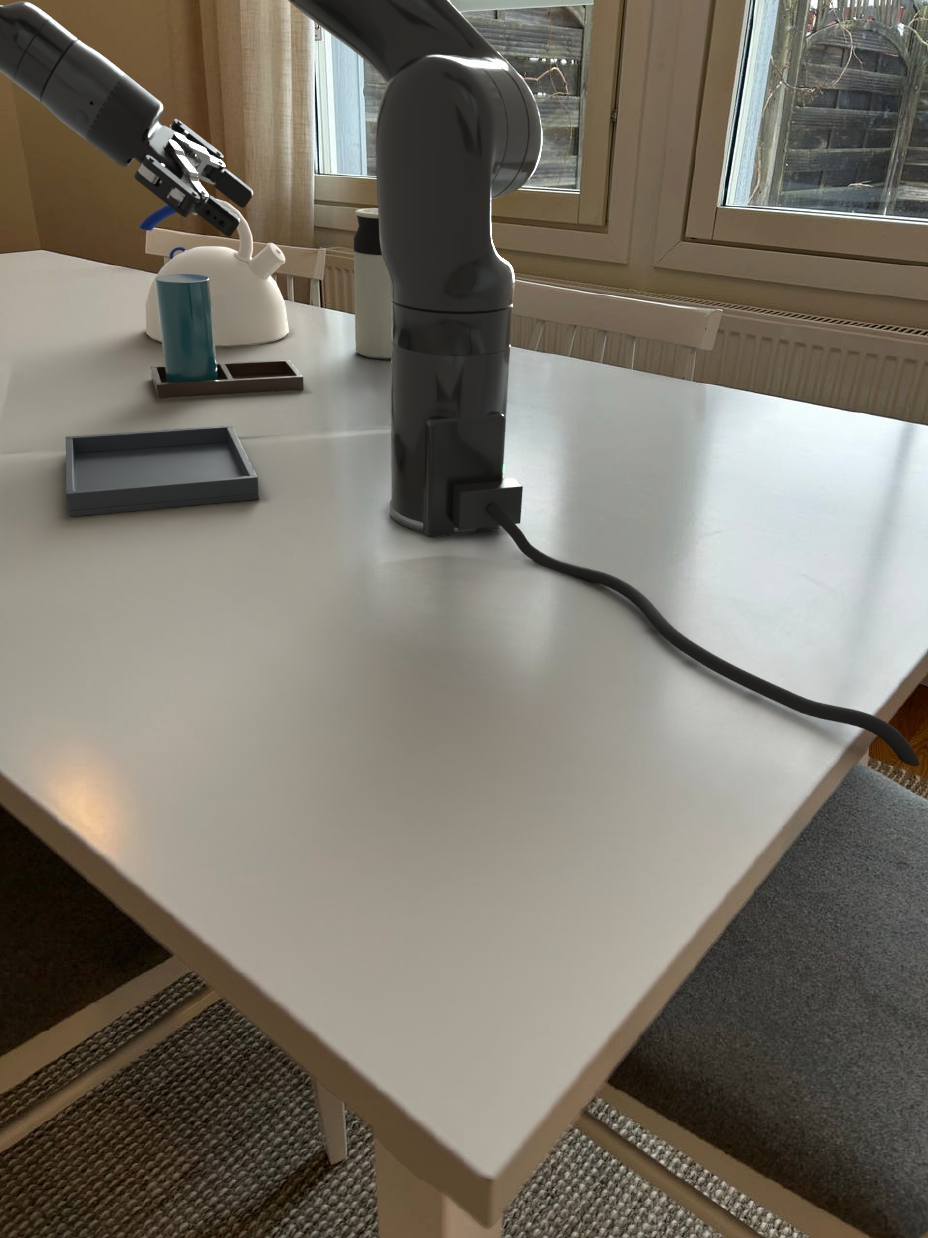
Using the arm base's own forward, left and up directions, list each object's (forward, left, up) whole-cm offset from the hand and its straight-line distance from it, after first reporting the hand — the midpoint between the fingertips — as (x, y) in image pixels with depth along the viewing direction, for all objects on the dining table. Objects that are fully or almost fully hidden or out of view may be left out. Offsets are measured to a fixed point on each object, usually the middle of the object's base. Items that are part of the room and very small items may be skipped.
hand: (242, 214), depth 102 cm
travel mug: (+16, -20, -19) cm, 32 cm away
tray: (-26, +13, -19) cm, 35 cm away
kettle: (+33, 0, -19) cm, 38 cm away
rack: (+3, +3, -19) cm, 20 cm away
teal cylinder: (+3, +7, -19) cm, 20 cm away
